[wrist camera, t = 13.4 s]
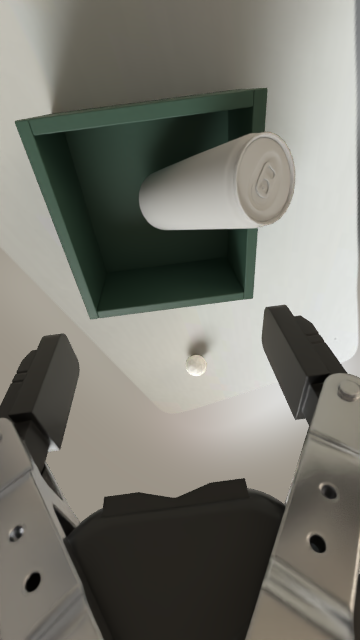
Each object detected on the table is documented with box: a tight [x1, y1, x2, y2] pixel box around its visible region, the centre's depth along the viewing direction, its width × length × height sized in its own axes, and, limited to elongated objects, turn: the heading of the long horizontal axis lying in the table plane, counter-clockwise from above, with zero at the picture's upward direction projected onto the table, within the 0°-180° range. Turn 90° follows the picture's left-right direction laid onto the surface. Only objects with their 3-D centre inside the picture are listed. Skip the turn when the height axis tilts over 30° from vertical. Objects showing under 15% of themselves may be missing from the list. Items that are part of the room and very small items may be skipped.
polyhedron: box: [186, 355, 207, 376], centre depth 39 cm, size 3×3×3 cm
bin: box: [15, 88, 267, 319], centre depth 24 cm, size 15×15×8 cm
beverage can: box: [139, 132, 295, 230], centre depth 20 cm, size 5×5×12 cm
